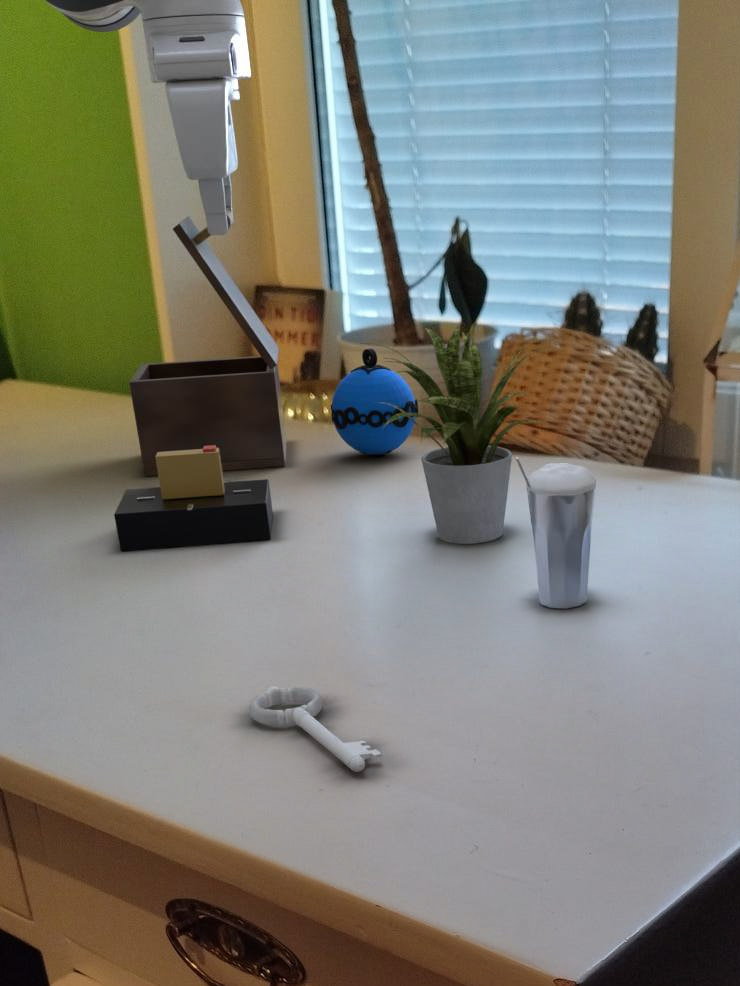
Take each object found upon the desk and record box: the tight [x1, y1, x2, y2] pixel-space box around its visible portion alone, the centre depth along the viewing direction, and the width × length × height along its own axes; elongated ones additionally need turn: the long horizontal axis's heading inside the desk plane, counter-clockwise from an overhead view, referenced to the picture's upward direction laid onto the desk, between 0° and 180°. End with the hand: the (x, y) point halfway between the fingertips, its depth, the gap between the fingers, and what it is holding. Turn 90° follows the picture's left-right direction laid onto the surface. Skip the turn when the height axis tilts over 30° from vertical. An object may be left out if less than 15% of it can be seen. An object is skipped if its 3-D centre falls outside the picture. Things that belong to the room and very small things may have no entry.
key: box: [248, 685, 382, 773], centre depth 72 cm, size 12×1×4 cm
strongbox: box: [128, 355, 288, 477], centre depth 131 cm, size 14×11×9 cm
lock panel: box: [113, 478, 274, 552], centre depth 109 cm, size 12×9×3 cm
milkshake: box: [515, 457, 597, 610], centre depth 87 cm, size 4×5×10 cm
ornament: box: [330, 347, 419, 457], centre depth 129 cm, size 9×9×10 cm
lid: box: [172, 209, 280, 369], centre depth 125 cm, size 14×11×5 cm
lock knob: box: [156, 445, 225, 500], centre depth 107 cm, size 5×2×4 cm, turn 96°
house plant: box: [360, 318, 546, 545], centre depth 102 cm, size 14×14×16 cm
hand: (221, 231), depth 123 cm, fingers open, 8 cm apart
